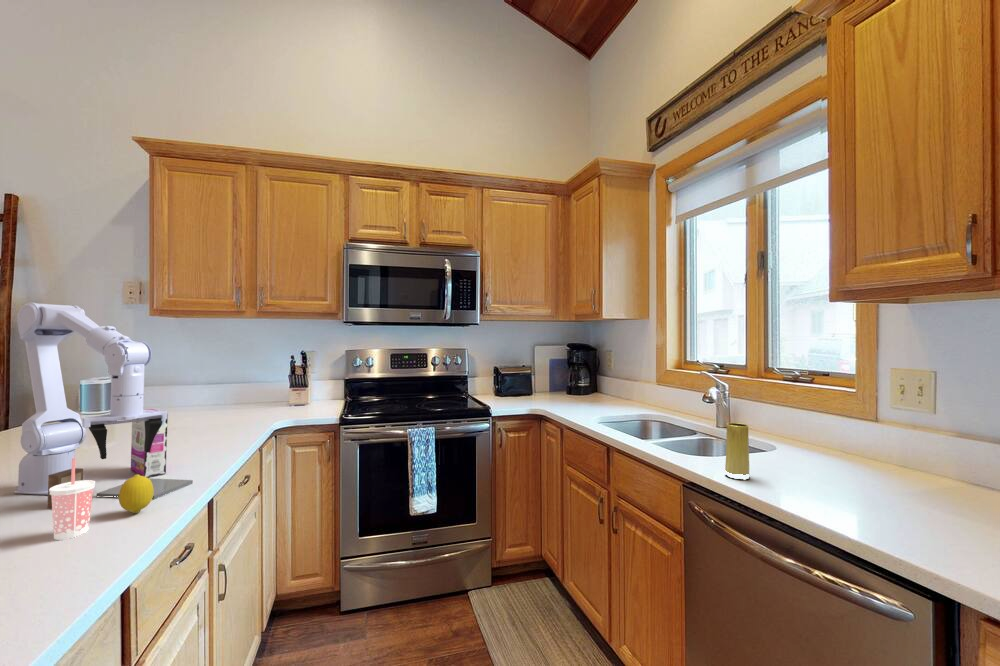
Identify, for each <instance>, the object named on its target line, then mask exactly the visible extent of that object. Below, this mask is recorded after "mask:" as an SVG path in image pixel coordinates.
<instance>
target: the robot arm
mask: <svg viewBox="0 0 1000 666" xmlns="http://www.w3.org/2000/svg"><path fill="white" fill-rule="evenodd" d="M16 322H17V328H18V334H19V340H22V341H23V342H24V343H25V350H26V356H27V362H28V363H27V364H28V369H29V374H30V382H31V389H32V395H33V399H34V400H33V401H34V406H35V413H34V414H33V415H31V416H30V417H29V418H27V419H26V420H25V421H23V423H22V424H21V430H22V431H21V435H20V444H21V448H22V449H23V451H24V452H26V453H27V454H25V455H24V456H23V457H22V458H21V459H20V461H19V463H18V481H17V482H18V484H17V485H18V486H17V488H18V489H16V490H14V491H13V494H26V495H47V496H48V475H51V474H54V473H58V472H61V471H65V470H69V469H72V458H75V459H76V450H77V449H79V448H80V445H81V444H82V443H83V442H84V440H85V439H86V437H87V436H86V435H87V428H88V429H89V431H90V433H91V434H92V437H93V439H94V441H95V442H96V445H97V448H98V450H99V457H100V459H101V460H106V459H107V454H108V452H107V436H108V429H107V425H108V426H109V425H111V426H112V425H118V424H120V425H121V424H128V423H132V422H139V421H145V444H144V451H145V452H146V453H148V452H150V450H151V446H152V443H153V440H154V438H155V436H156V434H157V432H158V430H159V429H160V427H161V426H162V421H161V419H162V420H163V419H167V413H168V411H167V410H166V409H163V410H159V411H143V410H144V405H145V403H144V398H145V396H144V395H145V367H146V366H147V365H149V363H150V362H151V360H152V357H153V355H152V349H151V346H150V345H149V344H148V343H147V342H145V341H143V340H142V341H141V340H139V341H133V340H132V339H131V338H130V337H129V336H127V335H123V334H122V333H121V332H120V331H117V328H116V327H115V326H113V325H112V326H111V325H103V326H100V325H98V324H97V323H96V322H95V321H93V320H92V319H91V318H90V317H88V316H87V315H86V312H85V310H84V308H81V307H79V305H75V304H70V305H68V304H67V305H65V304H52V303H51V304H50V303H36V302H33V301H32V302H31V301H29V302H26V303H24V304H23V305H22V306H21V308H20V309H19V311H18V313H17V315H16ZM74 333H76V334H77V335H80V336H82V337H83V338H85V339H86V340H85V342H86V345H88V347H90V348H91V349H93V350H94V351H96V352H98V353H99V354H100V355H102V356H104V361H105V364H106V365H107V367H108V368H107V369H108V374H109V376H111V377H110V378H111V379H110V382H111V383H110V384H111V385H110V410H109V411H110V414H103V415H96V416H87V417H82V418H81V415H80V414H79V413H78V412H76V411H74V410H73V409H70V408H68V406H67V405H68V404H67V401H66V393H65V387H64V381H63V376H62V368H61V363H60V356H59V350H58V349H59V348H58V345H59V343H61V342H62V341H66V340H67V339H69V337H71V336H72V335H73V334H74ZM132 419H134V420H132Z"/></svg>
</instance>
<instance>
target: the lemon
mask: <svg viewBox="0 0 1000 666" xmlns="http://www.w3.org/2000/svg"><path fill="white" fill-rule="evenodd" d="M149 478H150V477H145V476H140V475H139V474H135V475H133V476H131V477H130V478H128V479H127V480H126V481H124V482H123V483H122V484H123V485H122V484H121V485H122V487H121V489H120V492H119V498H118V501H119V505H120V506H121V508H122V509H123V510H124V511H127V512H131V513H133V514H134V513H136V514H138V513H139V512H140V511H142V510H143V509H146V508H147V507H148V505H150V503H151V501H153V499H152V498H153V493H154V489H153V485H152V482H151V480H150V479H149ZM137 512H138V513H137Z"/></svg>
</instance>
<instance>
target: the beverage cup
mask: <svg viewBox="0 0 1000 666" xmlns="http://www.w3.org/2000/svg"><path fill="white" fill-rule="evenodd" d="M75 468H76V457H75V458H72V471H71V482H67V483H63V484H59V485H56V486H53V487H51V488H50V489H49V492H50V495H51V497H52V509H51V510H52V511H51V512H52V527H53V539H54V540H57V541H62V540H64V541H65V540H70V538H71V539H75V538H77V537H76V536H78V537H80V536H79V535H81V534H83V533H86V532H87V531H88V530H89V531H90V521H91V520H90V519H91V512H92V504H93V503H92V502H93V492H94V488H95V486H96V481H95V480H91V479H90V480H89V479H85V480H84V479H83V480H81V481H75ZM89 531H88V532H89ZM88 532H87V533H88ZM87 533H86V534H87ZM81 536H82V535H81ZM74 537H75V538H74Z"/></svg>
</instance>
